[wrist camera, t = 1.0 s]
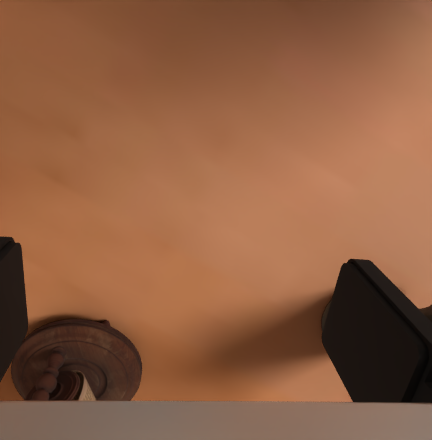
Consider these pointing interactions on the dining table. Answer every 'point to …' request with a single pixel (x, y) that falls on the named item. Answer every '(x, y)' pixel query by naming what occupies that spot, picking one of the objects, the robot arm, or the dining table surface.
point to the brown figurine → (76, 363)
